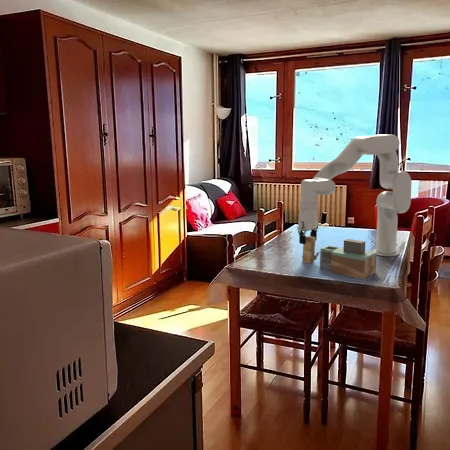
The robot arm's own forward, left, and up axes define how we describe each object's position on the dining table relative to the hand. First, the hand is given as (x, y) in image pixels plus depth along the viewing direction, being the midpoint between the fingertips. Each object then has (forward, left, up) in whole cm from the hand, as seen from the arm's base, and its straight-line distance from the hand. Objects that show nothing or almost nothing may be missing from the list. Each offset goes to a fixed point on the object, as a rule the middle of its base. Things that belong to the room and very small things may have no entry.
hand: (308, 241), depth 204 cm
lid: (+2, +21, -2) cm, 21 cm away
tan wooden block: (0, 0, -10) cm, 10 cm away
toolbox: (+2, +21, -10) cm, 23 cm away
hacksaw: (-14, -8, -10) cm, 19 cm away
